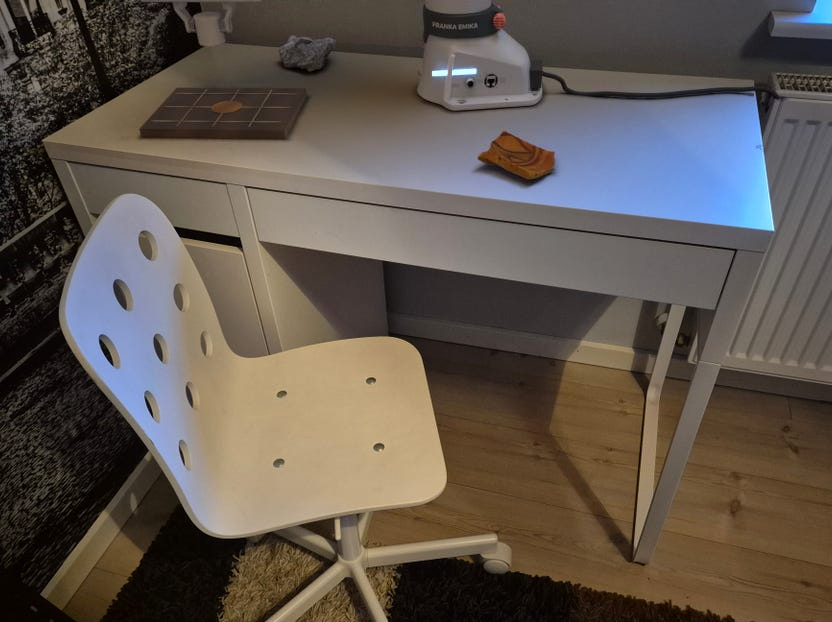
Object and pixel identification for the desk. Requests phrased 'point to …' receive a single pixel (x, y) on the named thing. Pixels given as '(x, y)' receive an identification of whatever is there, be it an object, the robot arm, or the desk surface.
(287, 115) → the board
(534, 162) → the pottery fragment
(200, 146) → the desk surface
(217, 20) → the white plastic cylinder
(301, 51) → the mineral specimen
